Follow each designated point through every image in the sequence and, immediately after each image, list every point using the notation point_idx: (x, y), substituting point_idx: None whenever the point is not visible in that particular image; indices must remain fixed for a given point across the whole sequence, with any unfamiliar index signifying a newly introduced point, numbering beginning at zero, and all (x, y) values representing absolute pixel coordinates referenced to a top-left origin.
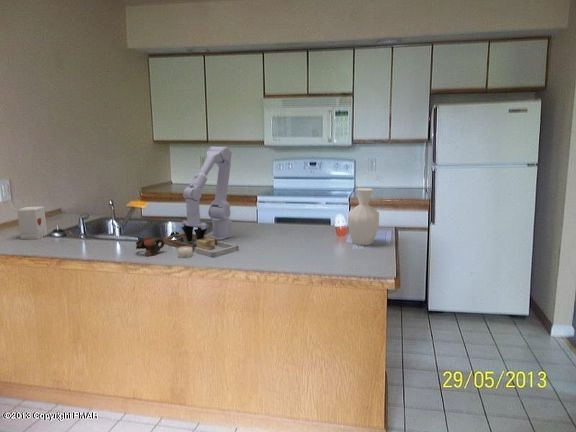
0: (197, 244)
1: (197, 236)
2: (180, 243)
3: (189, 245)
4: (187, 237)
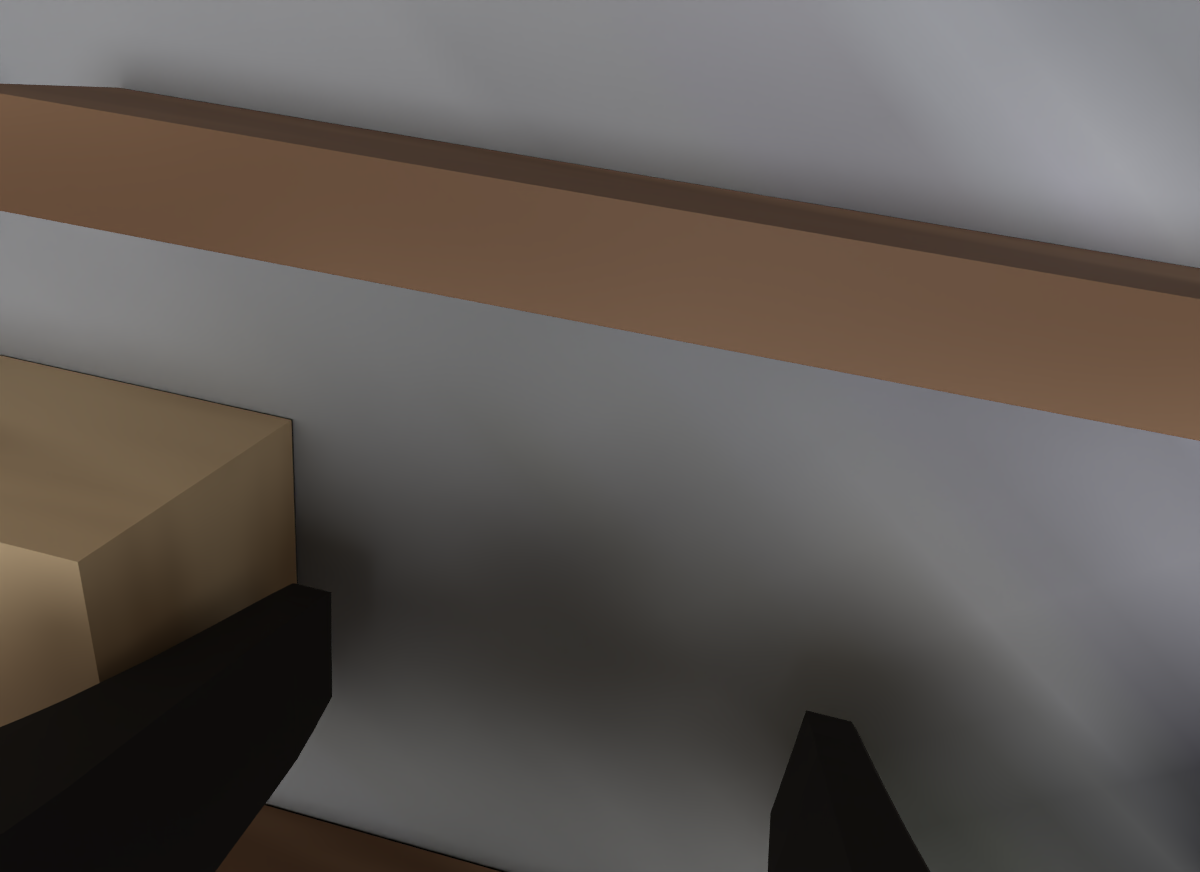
0: (151, 464)
1: (23, 740)
2: (725, 217)
3: (81, 109)
4: (834, 824)
